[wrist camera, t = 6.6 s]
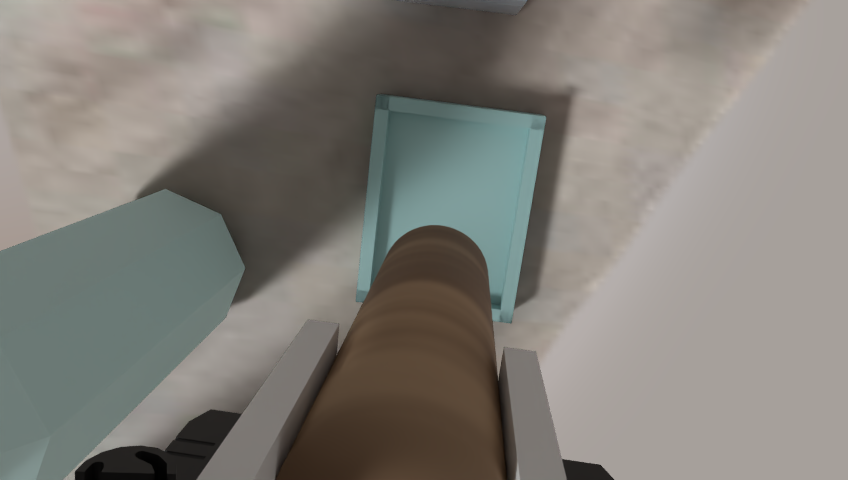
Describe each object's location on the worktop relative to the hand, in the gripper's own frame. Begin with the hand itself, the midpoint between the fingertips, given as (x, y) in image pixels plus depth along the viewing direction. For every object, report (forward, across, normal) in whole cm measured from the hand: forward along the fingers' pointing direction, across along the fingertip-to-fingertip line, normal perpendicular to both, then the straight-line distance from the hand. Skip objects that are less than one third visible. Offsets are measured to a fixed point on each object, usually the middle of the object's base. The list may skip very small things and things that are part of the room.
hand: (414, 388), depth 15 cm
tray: (+26, 0, -1) cm, 26 cm away
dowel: (+9, 0, 0) cm, 9 cm away
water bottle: (+27, -18, -6) cm, 33 cm away
